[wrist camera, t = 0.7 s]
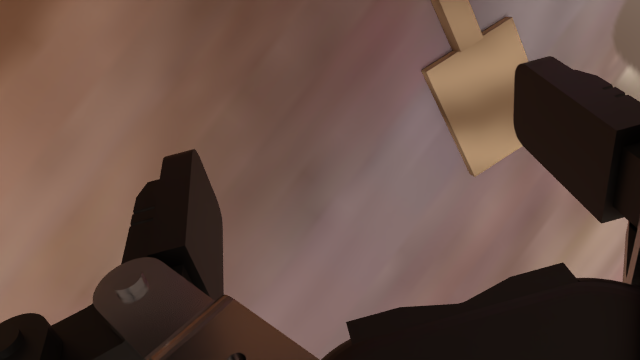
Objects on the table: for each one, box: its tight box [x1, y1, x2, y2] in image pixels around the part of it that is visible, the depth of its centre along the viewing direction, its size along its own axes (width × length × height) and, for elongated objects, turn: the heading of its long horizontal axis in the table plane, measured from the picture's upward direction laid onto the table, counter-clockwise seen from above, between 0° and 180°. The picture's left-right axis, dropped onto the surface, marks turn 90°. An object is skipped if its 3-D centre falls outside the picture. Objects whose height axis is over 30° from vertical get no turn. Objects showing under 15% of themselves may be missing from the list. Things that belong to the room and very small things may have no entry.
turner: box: [422, 0, 528, 177], centre depth 34 cm, size 21×7×1 cm, turn 29°
